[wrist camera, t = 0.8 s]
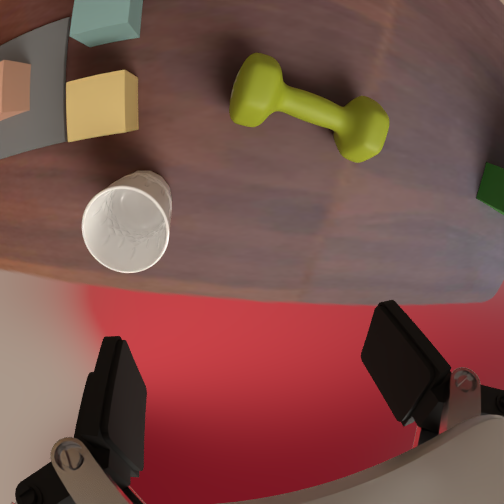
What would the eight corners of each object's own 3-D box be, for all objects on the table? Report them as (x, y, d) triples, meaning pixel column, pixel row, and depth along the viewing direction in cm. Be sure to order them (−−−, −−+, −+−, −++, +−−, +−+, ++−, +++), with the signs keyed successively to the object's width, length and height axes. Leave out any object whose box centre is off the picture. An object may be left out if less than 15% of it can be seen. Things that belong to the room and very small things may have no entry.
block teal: (94, 5, 19) (77, -12, 13) (143, -5, 20) (134, -26, 14) (89, 47, 21) (69, 36, 16) (139, 37, 22) (127, 22, 17)
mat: (-21, 59, 16) (-24, 59, 15) (70, 18, 18) (68, 16, 18) (-21, 166, 23) (-23, 167, 23) (67, 141, 26) (65, 141, 25)
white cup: (113, 229, 32) (87, 271, 23) (111, 164, 28) (78, 186, 20) (176, 231, 33) (169, 274, 25) (178, 165, 30) (170, 186, 21)
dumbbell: (220, 119, 29) (226, 120, 22) (241, 55, 26) (253, 39, 19) (348, 161, 33) (380, 174, 27) (367, 105, 30) (402, 107, 24)
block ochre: (88, 86, 24) (66, 82, 18) (138, 77, 25) (124, 69, 19) (89, 136, 26) (68, 142, 21) (138, 129, 27) (125, 132, 22)
